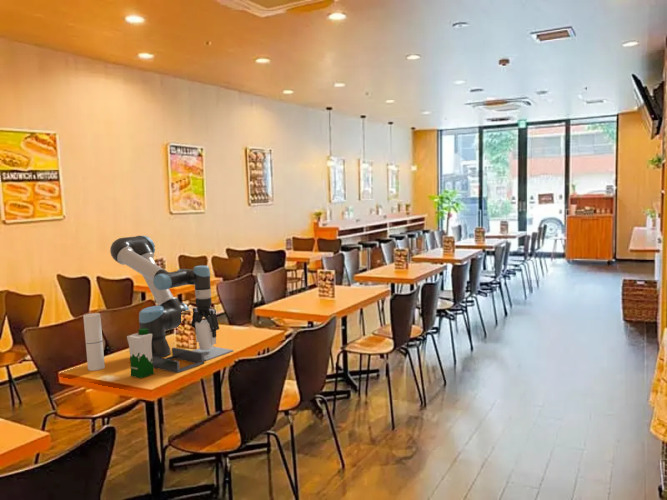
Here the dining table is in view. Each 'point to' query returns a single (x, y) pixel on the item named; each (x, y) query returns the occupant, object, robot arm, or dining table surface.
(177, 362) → the cup stand
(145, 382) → the dining table surface
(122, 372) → the dining table surface
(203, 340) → the foam cup
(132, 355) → the milk carton
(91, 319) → the cylindrical container
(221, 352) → the mat
